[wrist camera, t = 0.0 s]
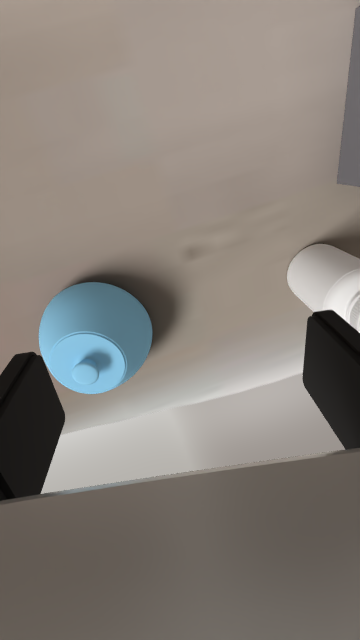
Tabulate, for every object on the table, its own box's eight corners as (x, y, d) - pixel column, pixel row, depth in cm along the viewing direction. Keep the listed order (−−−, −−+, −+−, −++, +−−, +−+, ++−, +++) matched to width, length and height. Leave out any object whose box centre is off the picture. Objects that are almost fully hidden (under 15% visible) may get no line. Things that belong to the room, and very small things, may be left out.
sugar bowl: (171, 310, 45) (177, 356, 35) (121, 381, 50) (113, 439, 40) (74, 256, 40) (47, 290, 30) (30, 340, 45) (-6, 394, 35)
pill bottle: (352, 250, 42) (442, 293, 29) (323, 302, 46) (392, 361, 33) (301, 234, 41) (372, 271, 28) (275, 289, 44) (327, 345, 31)
